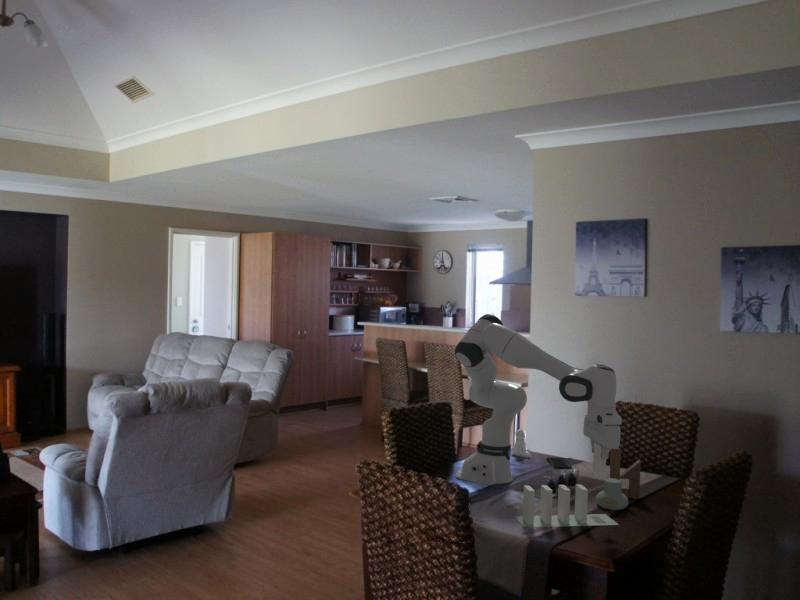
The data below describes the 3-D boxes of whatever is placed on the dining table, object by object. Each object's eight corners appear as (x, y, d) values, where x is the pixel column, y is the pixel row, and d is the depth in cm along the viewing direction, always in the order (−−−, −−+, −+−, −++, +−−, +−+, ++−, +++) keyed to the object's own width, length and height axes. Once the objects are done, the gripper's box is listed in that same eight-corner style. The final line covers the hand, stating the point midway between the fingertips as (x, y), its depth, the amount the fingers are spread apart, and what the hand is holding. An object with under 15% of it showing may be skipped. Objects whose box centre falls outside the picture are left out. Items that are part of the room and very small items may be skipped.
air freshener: (630, 508, 241) (631, 480, 240) (625, 515, 233) (626, 486, 233) (599, 502, 246) (600, 475, 246) (593, 508, 239) (594, 480, 239)
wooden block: (639, 499, 251) (641, 451, 250) (608, 496, 253) (610, 448, 252) (638, 496, 254) (640, 448, 254) (608, 493, 257) (609, 446, 256)
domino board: (524, 530, 216) (524, 527, 216) (514, 519, 226) (514, 516, 226) (618, 527, 221) (619, 524, 221) (605, 516, 231) (605, 513, 231)
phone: (563, 457, 304) (572, 467, 289) (563, 460, 304) (572, 469, 289) (546, 457, 304) (553, 466, 289) (545, 459, 304) (553, 469, 289)
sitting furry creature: (530, 458, 304) (531, 432, 304) (511, 457, 306) (512, 430, 305) (530, 453, 314) (531, 427, 313) (511, 452, 315) (512, 426, 315)
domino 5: (600, 479, 222) (601, 446, 221) (592, 474, 227) (593, 442, 227) (605, 479, 222) (606, 446, 222) (597, 474, 227) (599, 442, 227)
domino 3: (563, 523, 220) (565, 490, 220) (557, 517, 226) (558, 484, 226) (569, 523, 221) (570, 490, 220) (562, 517, 226) (563, 484, 226)
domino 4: (581, 523, 221) (582, 489, 221) (574, 517, 227) (575, 484, 227) (586, 523, 222) (587, 489, 221) (579, 517, 227) (580, 484, 227)
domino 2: (546, 524, 220) (547, 490, 219) (540, 518, 225) (541, 485, 225) (551, 524, 220) (552, 490, 219) (545, 517, 225) (546, 485, 225)
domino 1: (528, 524, 219) (529, 490, 218) (522, 518, 224) (523, 485, 224) (533, 524, 219) (534, 490, 219) (527, 518, 224) (529, 485, 224)
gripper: (579, 408, 234) (577, 448, 234) (605, 420, 214) (604, 464, 214) (596, 408, 235) (595, 447, 235) (624, 420, 214) (623, 464, 215)
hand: (599, 455), depth 224 cm, fingers closed on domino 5, 6 cm apart
